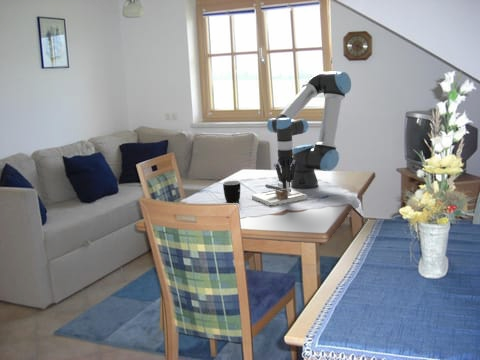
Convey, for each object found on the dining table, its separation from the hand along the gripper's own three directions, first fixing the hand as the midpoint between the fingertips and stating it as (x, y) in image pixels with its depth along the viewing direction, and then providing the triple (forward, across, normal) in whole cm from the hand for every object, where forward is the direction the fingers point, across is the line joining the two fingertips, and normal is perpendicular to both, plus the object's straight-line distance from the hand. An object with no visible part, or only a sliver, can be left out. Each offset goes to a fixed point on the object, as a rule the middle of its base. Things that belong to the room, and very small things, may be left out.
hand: (286, 194), depth 288 cm
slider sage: (+2, -7, -14) cm, 16 cm away
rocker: (-2, 0, -8) cm, 8 cm away
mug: (+4, +21, -20) cm, 29 cm away
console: (+4, 0, -7) cm, 8 cm away
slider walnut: (+2, +3, 0) cm, 3 cm away
